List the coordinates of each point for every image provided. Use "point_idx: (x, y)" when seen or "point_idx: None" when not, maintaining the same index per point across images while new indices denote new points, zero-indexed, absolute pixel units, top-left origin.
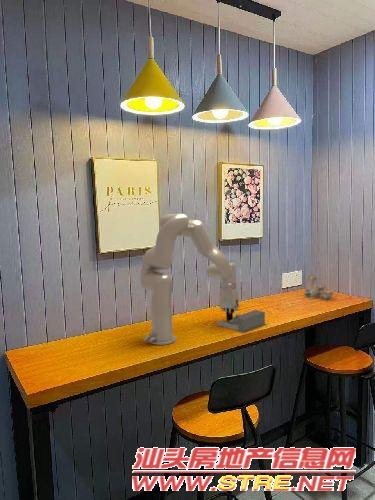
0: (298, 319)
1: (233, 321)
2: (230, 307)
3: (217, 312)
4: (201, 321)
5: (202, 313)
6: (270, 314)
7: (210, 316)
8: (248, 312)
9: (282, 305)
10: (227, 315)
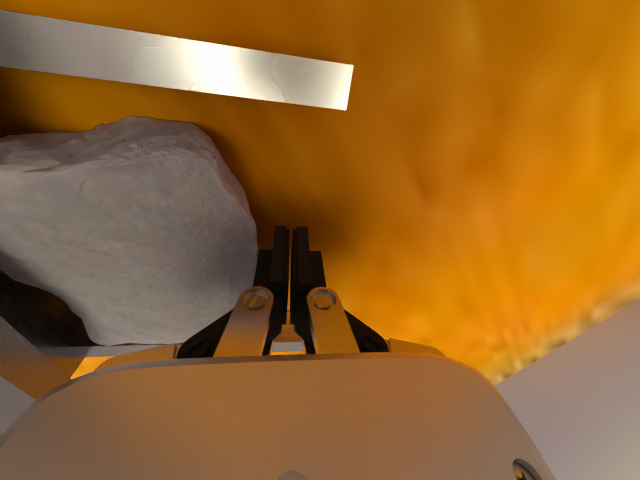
0: None
1: (94, 156)
2: (125, 395)
3: (472, 334)
4: (579, 99)
5: (573, 285)
6: None
7: (502, 267)
8: (17, 389)
9: None
10: (295, 264)
